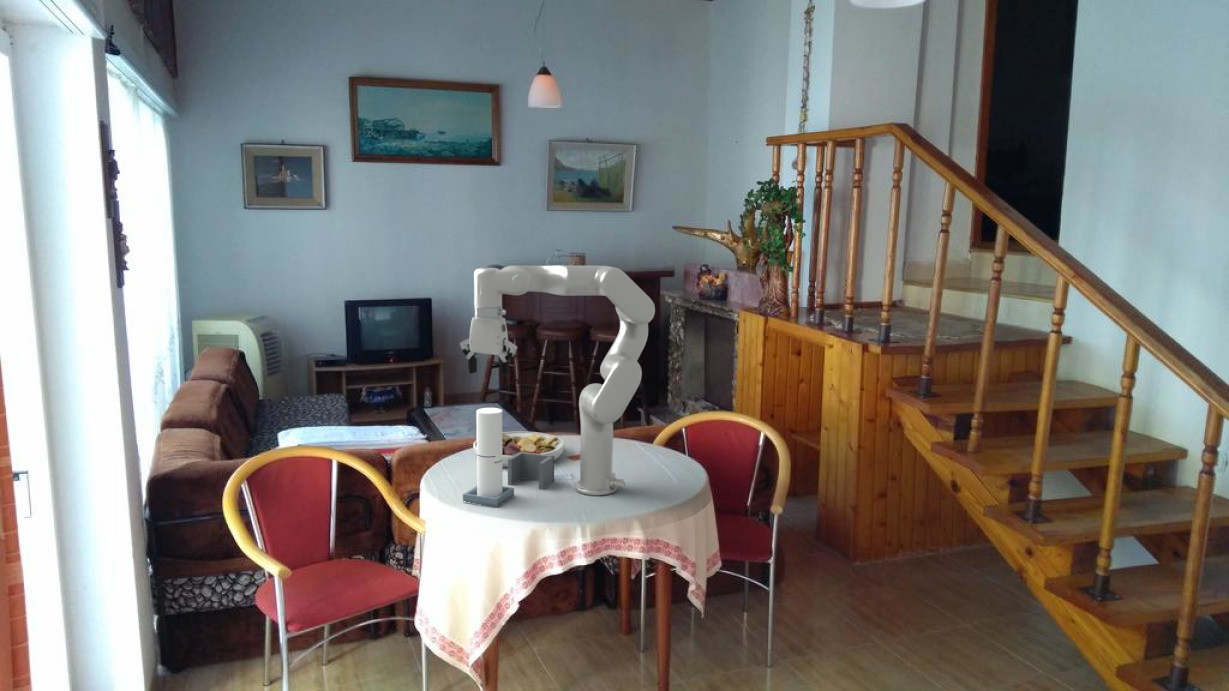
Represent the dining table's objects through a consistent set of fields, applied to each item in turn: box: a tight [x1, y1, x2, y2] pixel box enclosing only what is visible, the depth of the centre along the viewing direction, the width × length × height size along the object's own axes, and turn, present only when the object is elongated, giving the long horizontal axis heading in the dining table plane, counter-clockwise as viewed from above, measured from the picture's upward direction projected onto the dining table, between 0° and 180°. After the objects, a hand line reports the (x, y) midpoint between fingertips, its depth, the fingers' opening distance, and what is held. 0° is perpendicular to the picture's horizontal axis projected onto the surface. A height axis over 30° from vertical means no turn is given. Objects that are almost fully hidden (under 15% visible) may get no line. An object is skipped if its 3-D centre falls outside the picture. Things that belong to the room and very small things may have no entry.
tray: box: [462, 485, 515, 508], centre depth 238 cm, size 11×11×2 cm
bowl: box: [472, 431, 565, 469], centre depth 279 cm, size 30×30×8 cm
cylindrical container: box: [475, 407, 503, 498], centre depth 236 cm, size 7×7×25 cm
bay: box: [507, 452, 555, 491], centre depth 252 cm, size 11×8×8 cm
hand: (488, 374), depth 232 cm, fingers open, 9 cm apart
